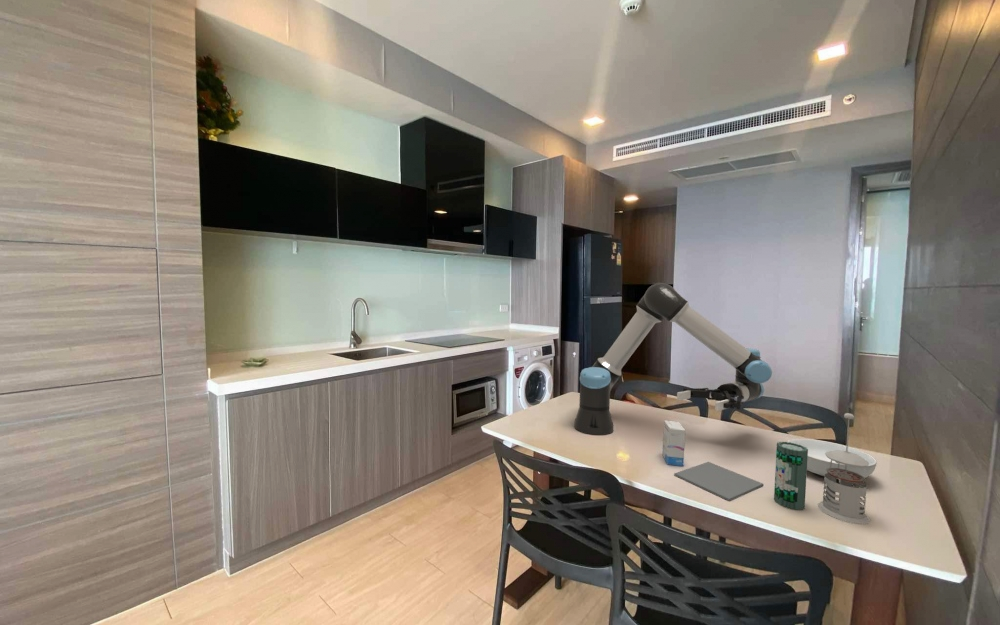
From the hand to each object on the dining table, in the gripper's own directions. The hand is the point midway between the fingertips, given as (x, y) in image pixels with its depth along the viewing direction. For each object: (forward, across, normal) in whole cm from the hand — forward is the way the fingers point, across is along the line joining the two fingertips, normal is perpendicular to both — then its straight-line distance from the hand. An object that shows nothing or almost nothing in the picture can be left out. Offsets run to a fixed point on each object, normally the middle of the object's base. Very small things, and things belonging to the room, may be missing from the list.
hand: (696, 401), depth 128 cm
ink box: (+11, 0, -18) cm, 21 cm away
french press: (-1, -39, -18) cm, 43 cm away
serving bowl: (-24, -28, -19) cm, 41 cm away
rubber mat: (+12, -15, -18) cm, 26 cm away
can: (+7, -31, -18) cm, 36 cm away
